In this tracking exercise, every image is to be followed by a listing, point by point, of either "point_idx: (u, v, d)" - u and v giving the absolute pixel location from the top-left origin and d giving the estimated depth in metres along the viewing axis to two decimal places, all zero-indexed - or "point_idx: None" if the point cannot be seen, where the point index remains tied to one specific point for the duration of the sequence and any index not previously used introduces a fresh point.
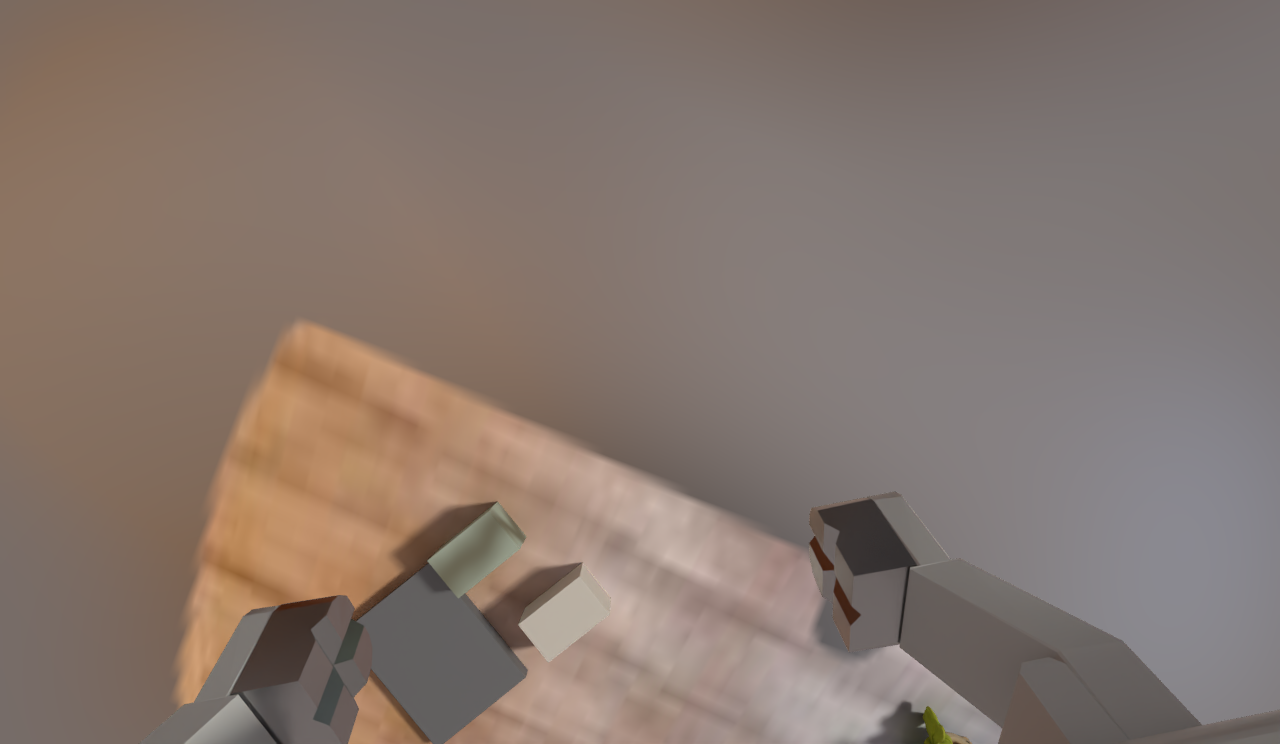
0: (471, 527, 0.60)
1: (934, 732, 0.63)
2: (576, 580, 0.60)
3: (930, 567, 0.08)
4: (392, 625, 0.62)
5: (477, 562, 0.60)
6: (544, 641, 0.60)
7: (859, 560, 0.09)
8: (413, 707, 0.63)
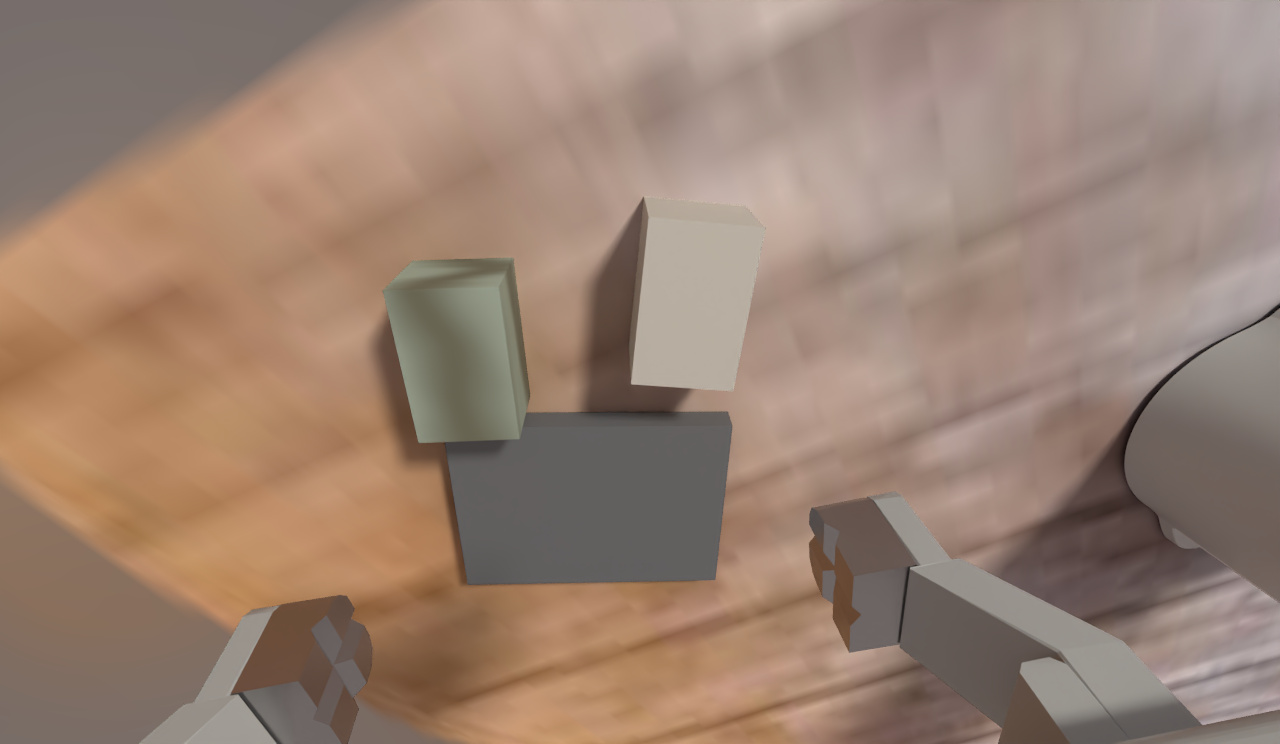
0: (398, 340, 0.27)
1: None
2: (650, 230, 0.25)
3: (930, 567, 0.08)
4: (504, 529, 0.36)
5: (475, 372, 0.28)
6: (695, 370, 0.28)
7: (859, 560, 0.09)
8: (638, 572, 0.38)
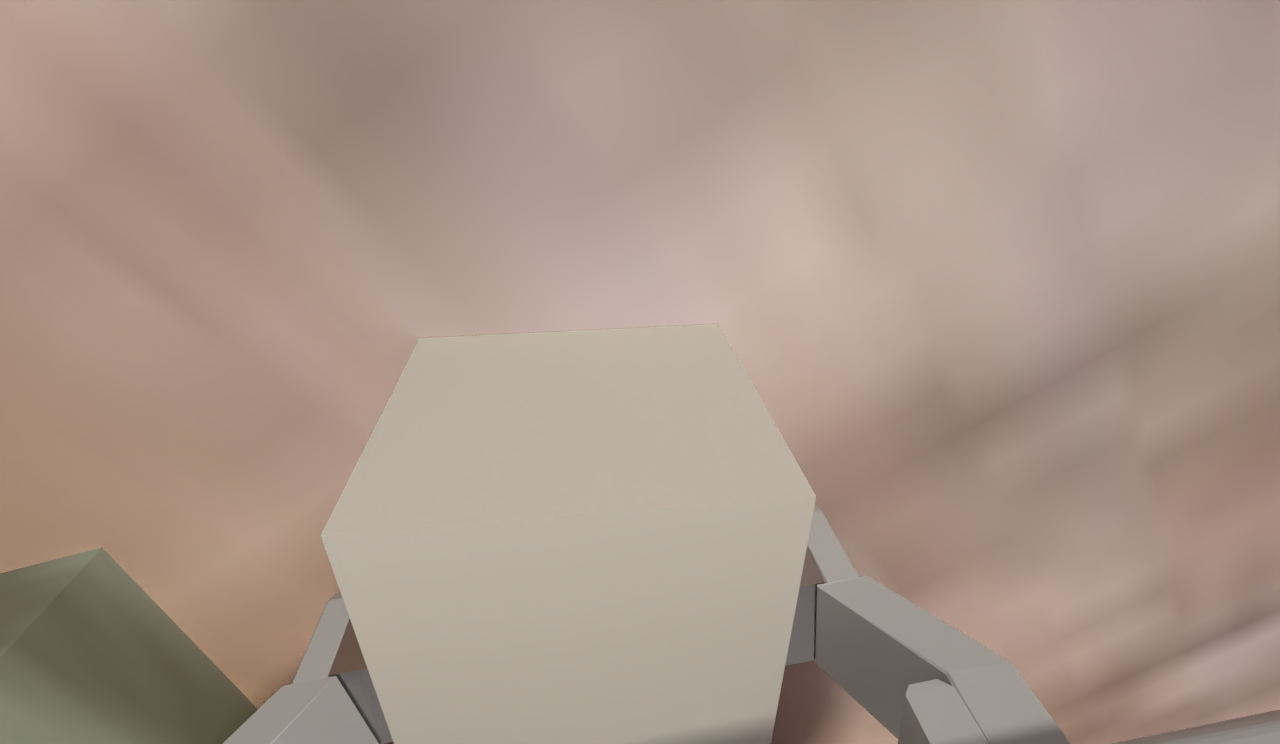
0: None
1: None
2: (347, 575, 0.06)
3: (837, 585, 0.08)
4: None
5: None
6: None
7: None
8: None
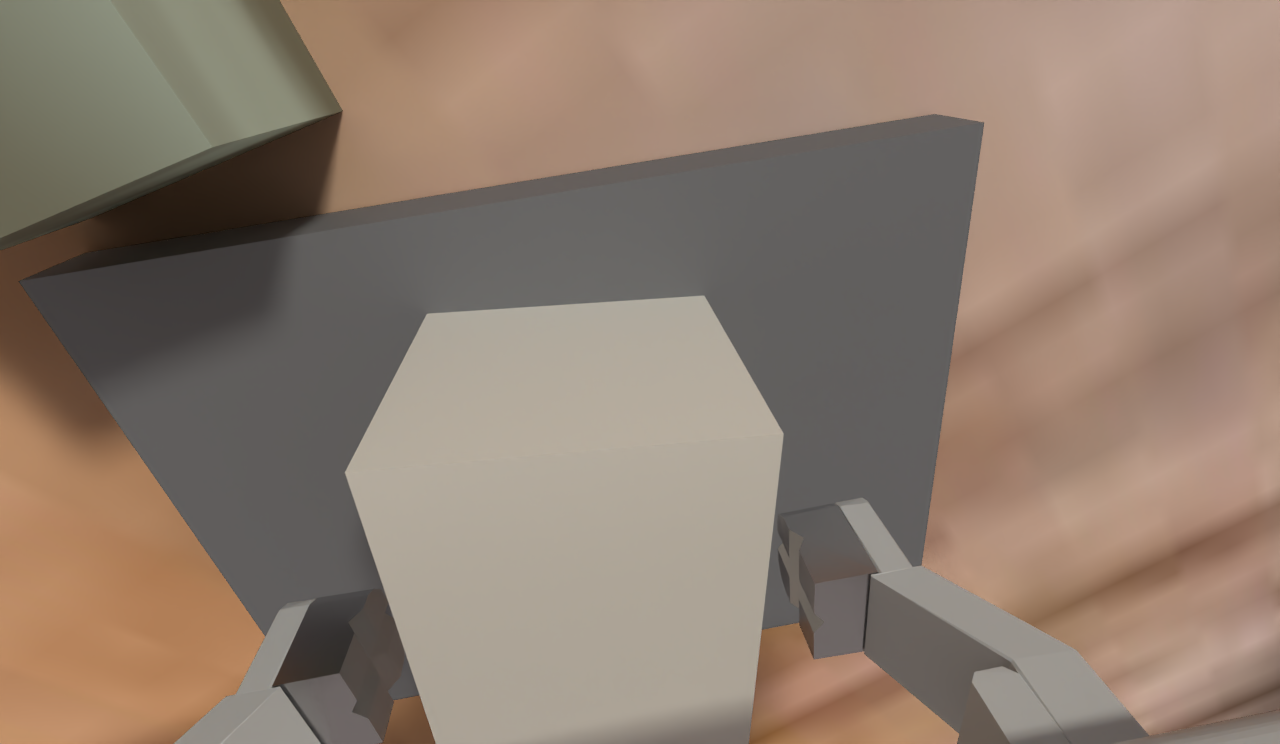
0: None
1: None
2: (368, 509, 0.07)
3: (891, 575, 0.08)
4: (357, 570, 0.13)
5: None
6: None
7: (821, 567, 0.09)
8: None
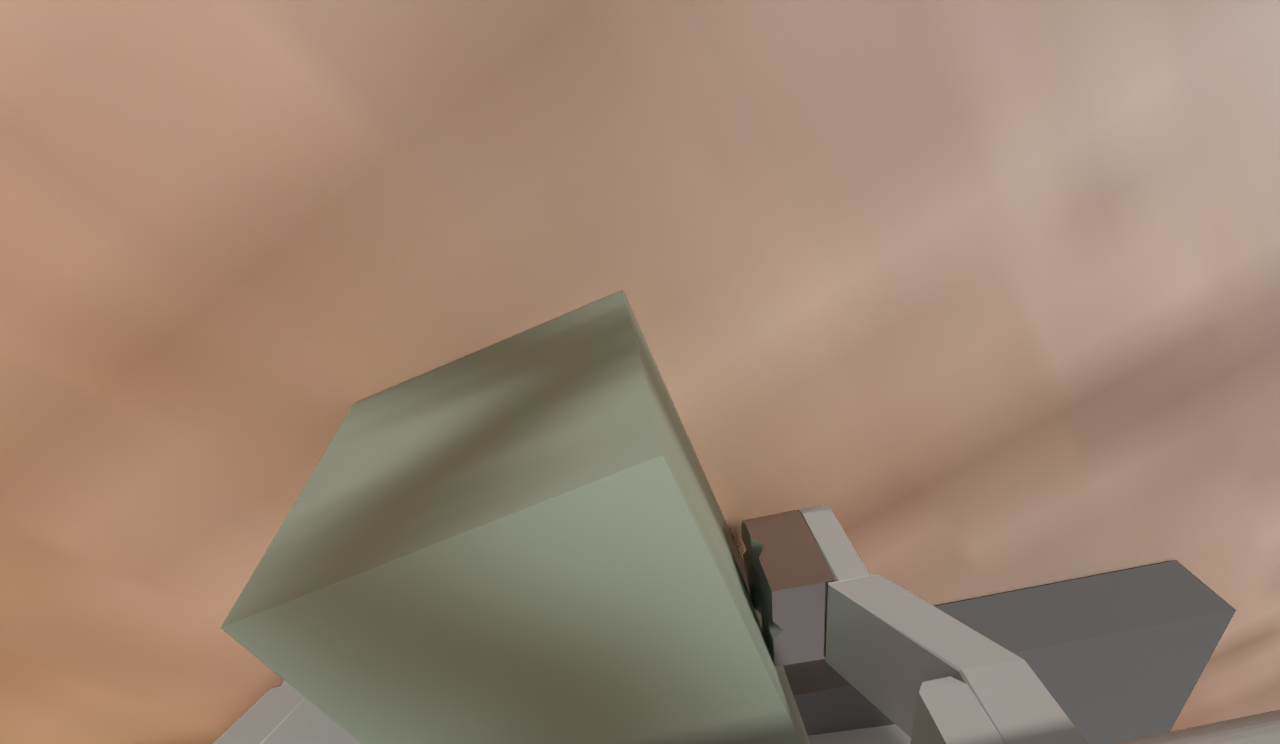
0: (370, 738, 0.07)
1: None
2: None
3: (848, 583, 0.08)
4: None
5: (659, 725, 0.08)
6: None
7: (779, 575, 0.09)
8: None
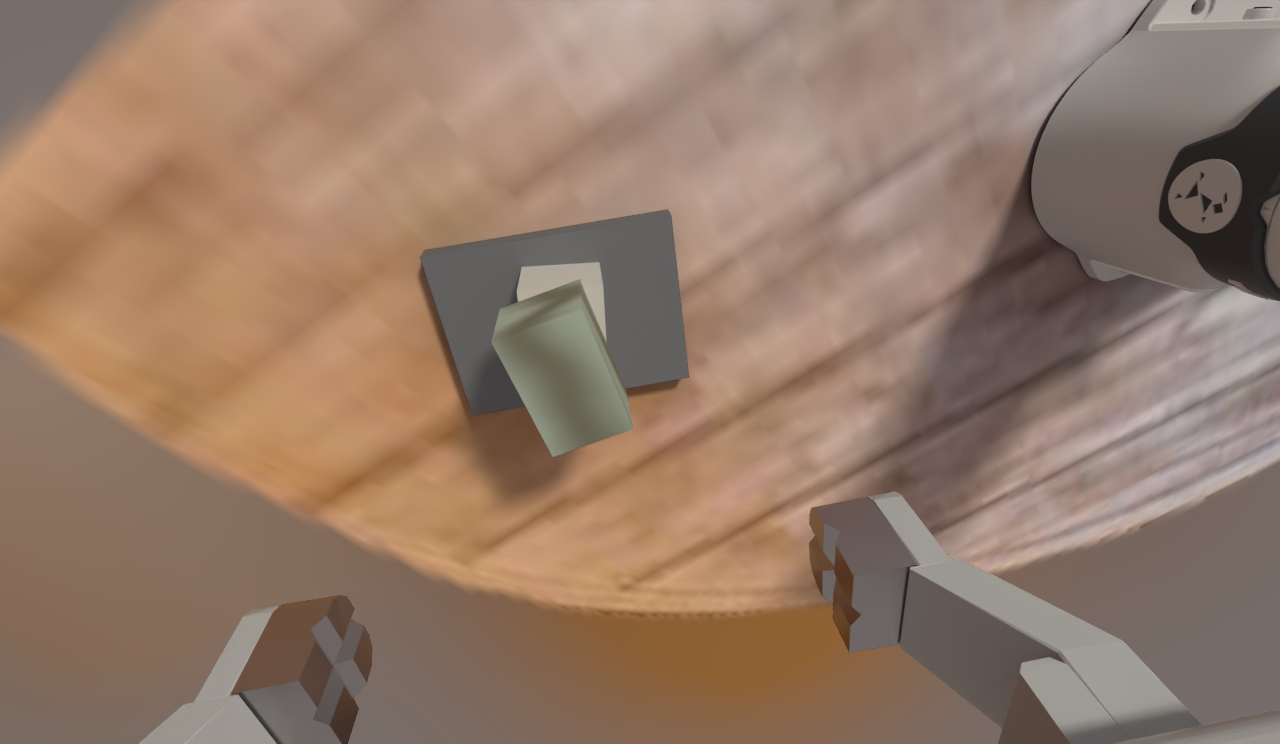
0: (514, 378, 0.31)
1: None
2: (519, 300, 0.34)
3: (930, 567, 0.08)
4: (493, 353, 0.40)
5: (582, 385, 0.32)
6: None
7: (859, 560, 0.09)
8: None
